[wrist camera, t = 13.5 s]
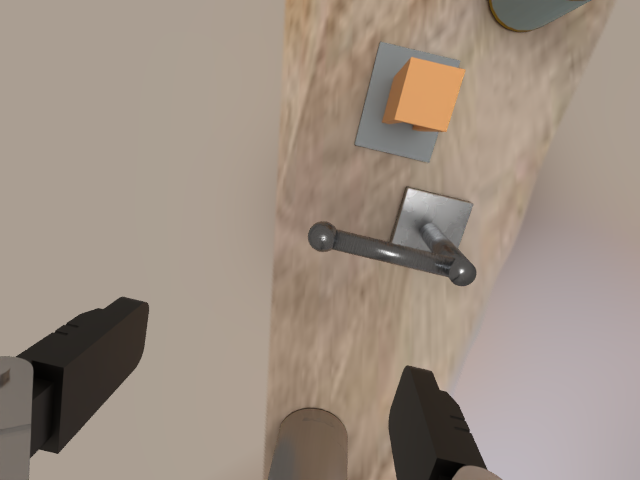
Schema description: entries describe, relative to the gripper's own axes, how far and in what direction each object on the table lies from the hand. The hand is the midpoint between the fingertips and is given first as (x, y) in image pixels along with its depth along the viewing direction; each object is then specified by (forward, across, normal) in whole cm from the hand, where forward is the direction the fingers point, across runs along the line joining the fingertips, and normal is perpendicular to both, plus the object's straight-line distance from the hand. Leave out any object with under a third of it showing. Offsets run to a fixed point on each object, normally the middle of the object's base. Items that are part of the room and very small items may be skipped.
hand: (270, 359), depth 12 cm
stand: (+32, -8, 0) cm, 33 cm away
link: (+31, -6, -12) cm, 34 cm away
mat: (+32, -6, -12) cm, 34 cm away
